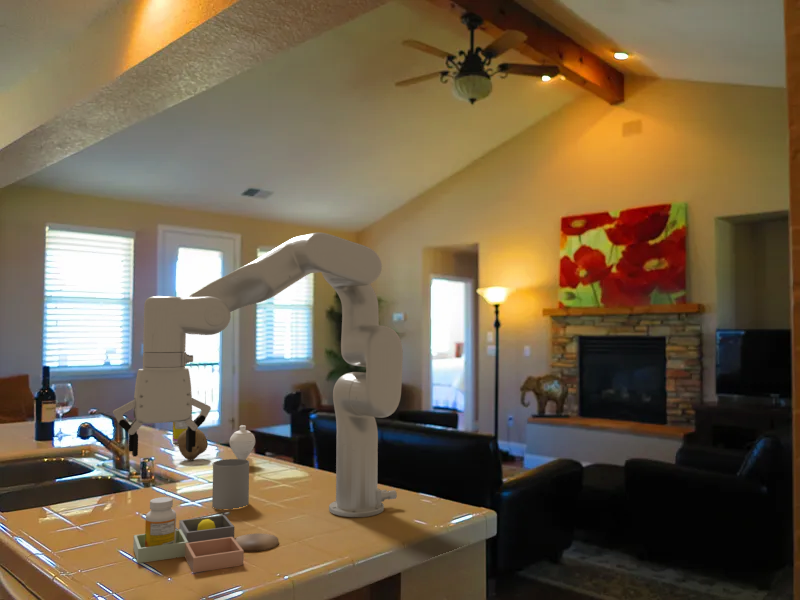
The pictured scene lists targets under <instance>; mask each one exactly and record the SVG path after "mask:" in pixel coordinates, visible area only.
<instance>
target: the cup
mask: <svg viewBox="0 0 800 600" xmlns="http://www.w3.org/2000/svg"><path fill="white" fill-rule="evenodd" d="M249 492H250V461H249V460H247V459H246V460H243V459H238V458H229V459H227V458H226V459H219V460H216V461H214V462H213V463H212V499H211V501H212V508H213V507H214V508H216V509H215V510H218V509H233V508H239V507H243V506H246V505H248V504H249V497H250V496H249V495H250V493H249ZM248 506H249V505H248ZM214 508H213V509H214Z"/></svg>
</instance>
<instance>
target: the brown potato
mask: <svg viewBox="0 0 800 600" xmlns="http://www.w3.org/2000/svg"><path fill="white" fill-rule="evenodd" d="M177 443H178V444H177V446H178V449H179V451H180V454H181V455H182V457H184V458H185V459H186V460H188V461H194V460H195V459H196V458H197V457H198V456H199V455H201V454H203V453H204V452H206V451H207V448H208V444H209V443H208V440H207V437H206V435H205V433H204V432H203V431H202V430H200V429H199V428H198V429H197V430H196V439H195V447H192V452H188V451H187V450H186V430H185V431H183V432H182V433H181V434H180V435H179V437H178V440H177Z"/></svg>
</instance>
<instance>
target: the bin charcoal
mask: <svg viewBox="0 0 800 600" xmlns="http://www.w3.org/2000/svg"><path fill="white" fill-rule="evenodd" d="M205 519H210V520H212V521H213V522H214V524H215V526H216V527H215V528H214V529H206V530H199V531H197V527H198V524H199V523H200V522H201V521H202V520H205ZM178 524H179V529H181V530H182V532H183V534H184V535H185V537H186V539H187V541H188V543H190V542H198V541H205V540H212V539H220V538H227V537H233V538H235V526H234V524H233V523H232V522H231V521H230V520H229V518H228V517H227V516H226V515H225V514H220V515H214V516H212V515H211V516H205V517H204V516H203V517H197V518H188V519H186V518H185V519H180V520H179V523H178ZM179 529H178V530H179Z"/></svg>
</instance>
